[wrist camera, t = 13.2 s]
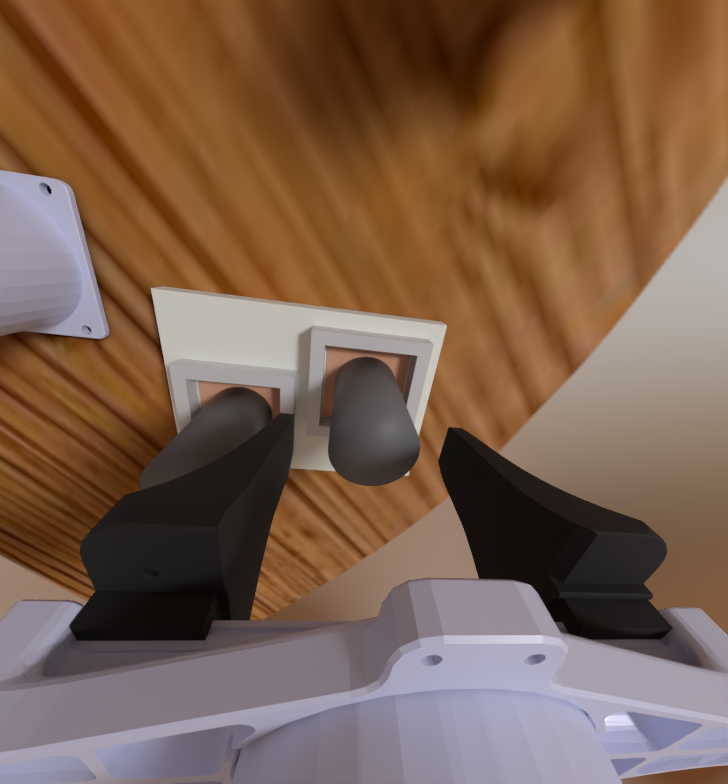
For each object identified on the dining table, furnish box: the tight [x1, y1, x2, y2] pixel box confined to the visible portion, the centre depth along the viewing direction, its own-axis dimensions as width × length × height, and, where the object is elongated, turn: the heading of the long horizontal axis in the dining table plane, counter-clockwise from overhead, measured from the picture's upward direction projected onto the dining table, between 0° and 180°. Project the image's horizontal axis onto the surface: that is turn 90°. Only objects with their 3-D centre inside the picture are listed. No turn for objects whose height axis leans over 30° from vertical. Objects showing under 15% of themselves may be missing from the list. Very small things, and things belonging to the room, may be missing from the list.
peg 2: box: [328, 356, 420, 486], centre depth 15 cm, size 4×4×7 cm
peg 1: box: [140, 387, 272, 490], centre depth 16 cm, size 4×4×7 cm
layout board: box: [151, 286, 447, 476], centre depth 19 cm, size 17×12×2 cm
